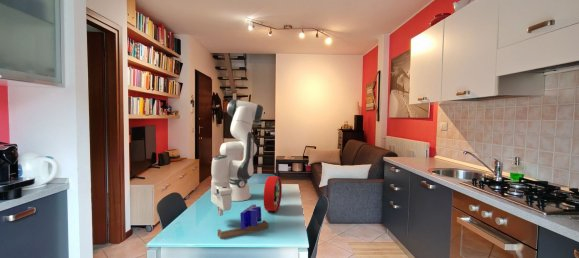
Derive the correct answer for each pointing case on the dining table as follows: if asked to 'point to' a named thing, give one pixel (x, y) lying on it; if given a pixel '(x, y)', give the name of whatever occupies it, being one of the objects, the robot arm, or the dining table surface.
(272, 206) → the red hockey puck
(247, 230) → the handle
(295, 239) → the dining table surface
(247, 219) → the mounting bracket
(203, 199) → the dining table surface
